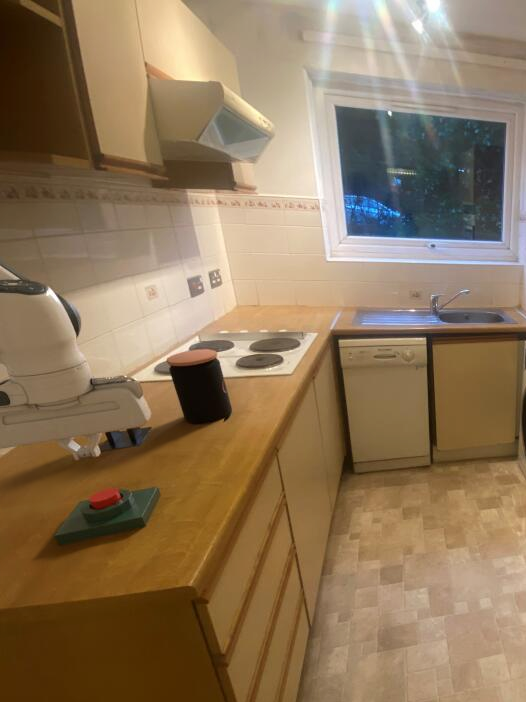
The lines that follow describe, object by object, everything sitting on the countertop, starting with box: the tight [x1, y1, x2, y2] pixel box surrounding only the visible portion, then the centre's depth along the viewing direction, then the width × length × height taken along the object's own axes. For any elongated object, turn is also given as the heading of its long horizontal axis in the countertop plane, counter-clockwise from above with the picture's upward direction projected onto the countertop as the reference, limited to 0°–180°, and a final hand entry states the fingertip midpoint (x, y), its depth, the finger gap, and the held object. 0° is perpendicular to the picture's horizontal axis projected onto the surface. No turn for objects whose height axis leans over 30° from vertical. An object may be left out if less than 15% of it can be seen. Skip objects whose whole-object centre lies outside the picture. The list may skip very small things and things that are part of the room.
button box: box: [53, 485, 162, 546], centre depth 79 cm, size 12×10×4 cm
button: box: [88, 487, 121, 509], centre depth 78 cm, size 4×4×2 cm
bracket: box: [99, 426, 153, 453], centre depth 102 cm, size 10×8×14 cm
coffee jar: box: [166, 348, 233, 425], centre depth 114 cm, size 11×11×18 cm
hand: (88, 457), depth 75 cm, fingers closed
